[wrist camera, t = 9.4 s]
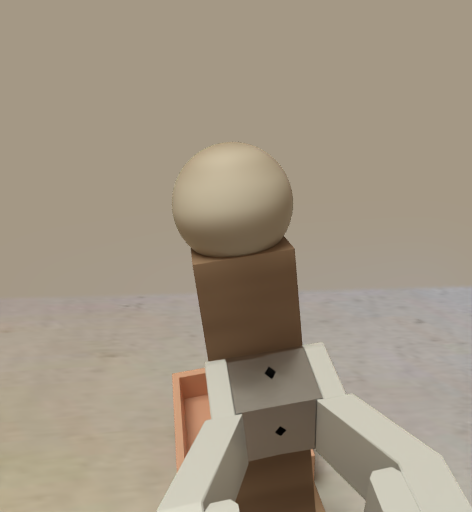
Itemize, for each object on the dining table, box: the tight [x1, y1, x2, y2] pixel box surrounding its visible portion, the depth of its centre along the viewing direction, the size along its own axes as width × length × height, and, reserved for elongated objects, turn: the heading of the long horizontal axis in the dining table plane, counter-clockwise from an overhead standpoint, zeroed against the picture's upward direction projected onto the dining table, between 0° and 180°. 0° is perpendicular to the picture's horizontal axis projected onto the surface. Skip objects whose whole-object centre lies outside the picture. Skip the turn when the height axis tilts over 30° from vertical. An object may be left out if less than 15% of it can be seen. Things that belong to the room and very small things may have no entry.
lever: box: [172, 142, 325, 512], centre depth 19 cm, size 14×12×22 cm
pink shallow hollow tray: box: [172, 368, 315, 480], centre depth 37 cm, size 10×10×4 cm
